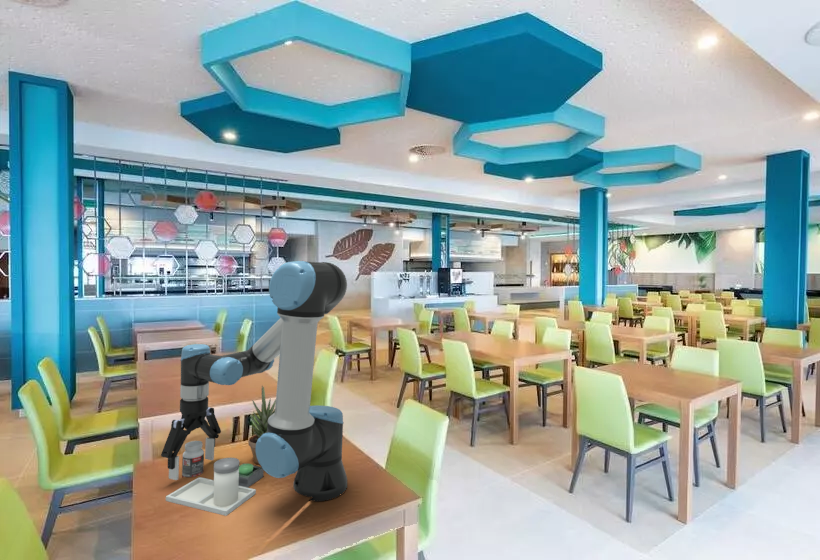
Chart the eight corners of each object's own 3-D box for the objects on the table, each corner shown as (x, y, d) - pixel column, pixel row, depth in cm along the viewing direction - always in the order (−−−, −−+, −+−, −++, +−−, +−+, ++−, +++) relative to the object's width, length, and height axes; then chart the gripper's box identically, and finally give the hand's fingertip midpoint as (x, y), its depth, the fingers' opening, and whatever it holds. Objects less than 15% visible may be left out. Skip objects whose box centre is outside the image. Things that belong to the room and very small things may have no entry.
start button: (255, 471, 128) (256, 464, 127) (246, 477, 124) (246, 470, 124) (244, 469, 129) (244, 462, 129) (235, 475, 125) (235, 468, 125)
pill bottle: (194, 482, 126) (195, 448, 126) (177, 480, 127) (178, 446, 127) (207, 473, 132) (208, 441, 132) (191, 471, 133) (191, 439, 133)
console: (263, 480, 129) (263, 467, 128) (247, 492, 122) (247, 478, 122) (243, 476, 131) (243, 463, 131) (226, 487, 124) (227, 473, 124)
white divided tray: (258, 497, 120) (259, 488, 120) (225, 522, 107) (225, 513, 107) (199, 483, 126) (200, 475, 126) (161, 506, 113) (161, 497, 113)
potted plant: (254, 453, 147) (256, 380, 147) (282, 454, 147) (284, 381, 146) (242, 466, 137) (244, 388, 137) (272, 467, 137) (274, 389, 136)
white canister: (243, 496, 117) (244, 459, 117) (227, 508, 111) (228, 469, 111) (224, 492, 119) (225, 456, 119) (207, 503, 113) (208, 465, 113)
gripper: (214, 385, 142) (213, 450, 143) (147, 408, 118) (145, 485, 119) (234, 388, 140) (232, 454, 140) (169, 412, 116) (167, 491, 117)
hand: (192, 468), depth 130 cm, fingers open, 13 cm apart
